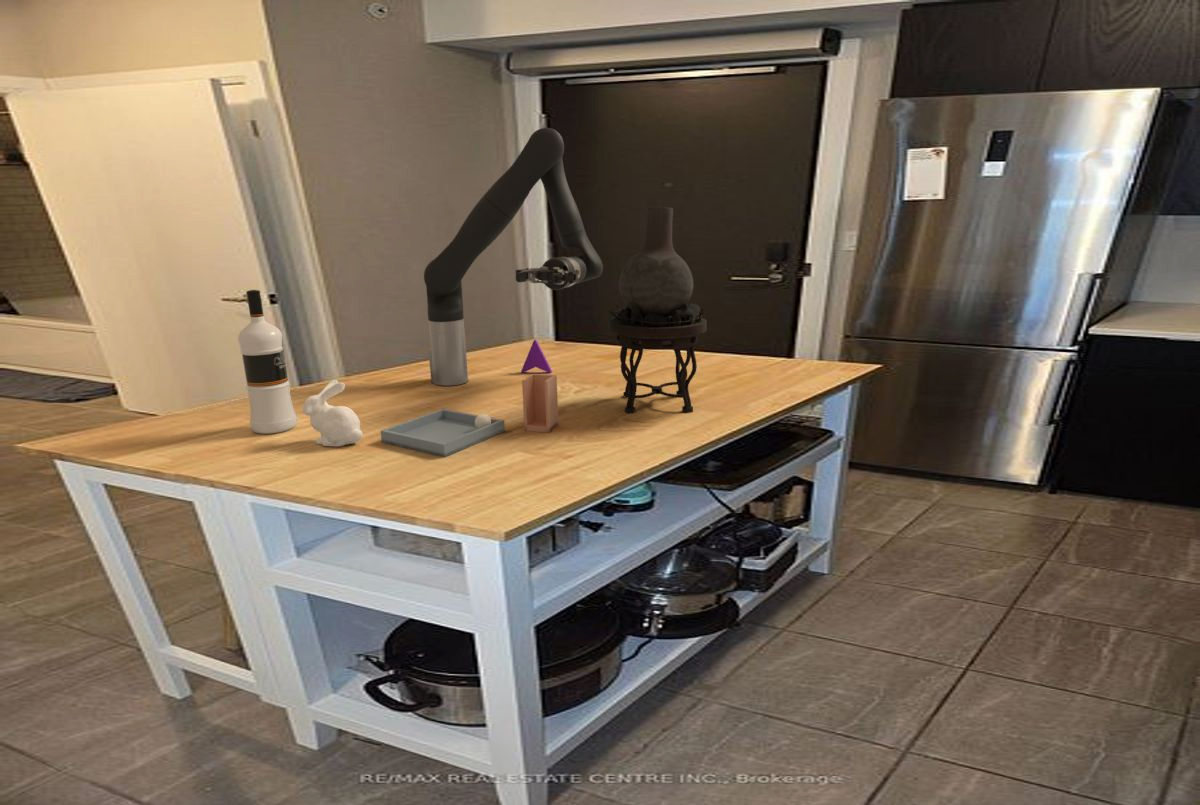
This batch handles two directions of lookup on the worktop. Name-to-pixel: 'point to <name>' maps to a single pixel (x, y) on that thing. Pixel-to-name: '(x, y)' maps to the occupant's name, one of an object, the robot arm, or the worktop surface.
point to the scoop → (540, 402)
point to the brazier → (657, 308)
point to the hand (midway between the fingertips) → (535, 278)
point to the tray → (441, 432)
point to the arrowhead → (536, 359)
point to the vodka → (265, 372)
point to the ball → (482, 420)
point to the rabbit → (332, 418)
